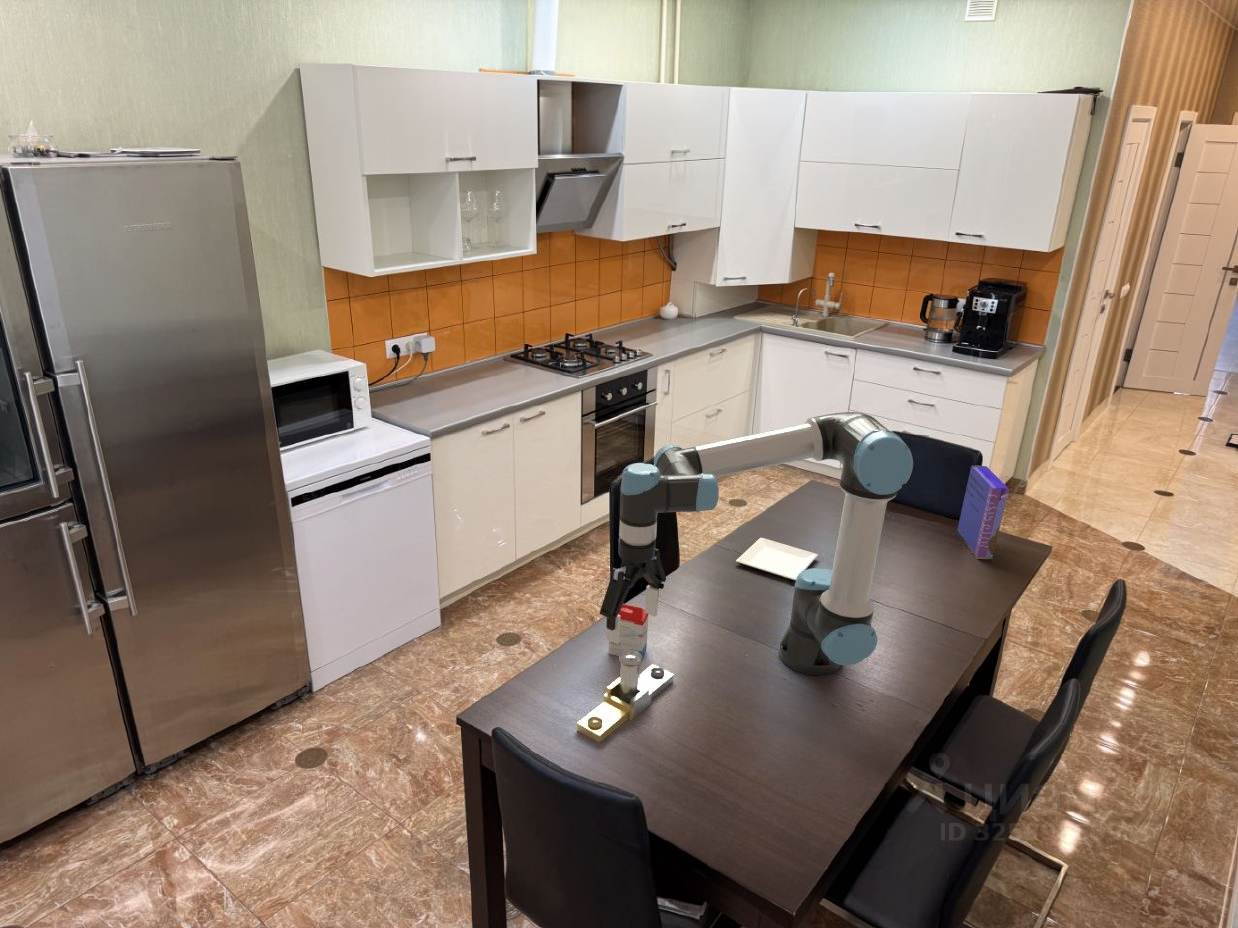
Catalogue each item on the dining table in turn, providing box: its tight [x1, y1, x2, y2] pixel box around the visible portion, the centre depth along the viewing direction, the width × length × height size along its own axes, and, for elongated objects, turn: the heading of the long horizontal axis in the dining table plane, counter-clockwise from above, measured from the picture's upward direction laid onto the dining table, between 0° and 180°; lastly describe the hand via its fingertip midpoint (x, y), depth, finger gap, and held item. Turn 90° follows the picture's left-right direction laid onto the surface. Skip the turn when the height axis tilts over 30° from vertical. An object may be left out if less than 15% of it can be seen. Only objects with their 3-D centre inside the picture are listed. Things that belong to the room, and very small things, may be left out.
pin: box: [618, 650, 643, 705], centre depth 189 cm, size 5×5×13 cm
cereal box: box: [956, 464, 1010, 558], centre depth 267 cm, size 17×5×24 cm, turn 179°
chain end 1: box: [576, 677, 635, 744], centre depth 187 cm, size 8×16×4 cm, turn 143°
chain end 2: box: [630, 663, 675, 719], centre depth 195 cm, size 8×16×4 cm, turn 143°
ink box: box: [607, 603, 649, 659], centre depth 207 cm, size 8×5×15 cm, turn 71°
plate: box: [735, 537, 819, 582], centre depth 256 cm, size 19×19×2 cm
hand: (632, 627), depth 184 cm, fingers open, 13 cm apart
